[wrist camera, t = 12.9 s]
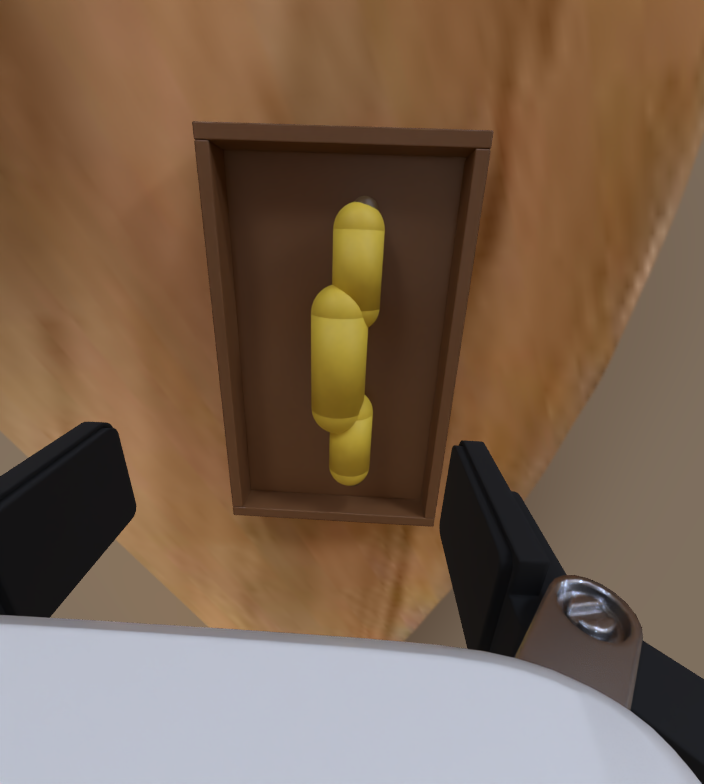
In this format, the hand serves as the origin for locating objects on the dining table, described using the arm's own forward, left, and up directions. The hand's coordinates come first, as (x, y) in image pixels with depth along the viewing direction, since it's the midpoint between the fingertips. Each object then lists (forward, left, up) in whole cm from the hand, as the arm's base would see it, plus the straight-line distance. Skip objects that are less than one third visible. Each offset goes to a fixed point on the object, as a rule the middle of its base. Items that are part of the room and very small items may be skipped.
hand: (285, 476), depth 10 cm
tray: (+1, +1, -17) cm, 17 cm away
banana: (+1, 0, -16) cm, 16 cm away
